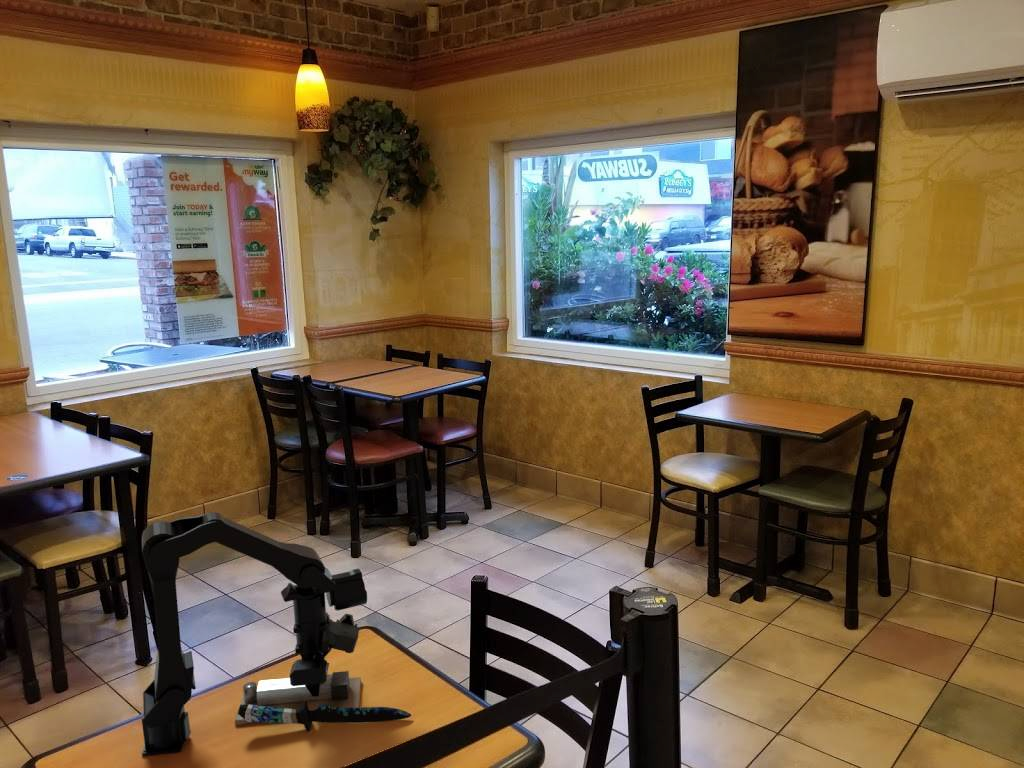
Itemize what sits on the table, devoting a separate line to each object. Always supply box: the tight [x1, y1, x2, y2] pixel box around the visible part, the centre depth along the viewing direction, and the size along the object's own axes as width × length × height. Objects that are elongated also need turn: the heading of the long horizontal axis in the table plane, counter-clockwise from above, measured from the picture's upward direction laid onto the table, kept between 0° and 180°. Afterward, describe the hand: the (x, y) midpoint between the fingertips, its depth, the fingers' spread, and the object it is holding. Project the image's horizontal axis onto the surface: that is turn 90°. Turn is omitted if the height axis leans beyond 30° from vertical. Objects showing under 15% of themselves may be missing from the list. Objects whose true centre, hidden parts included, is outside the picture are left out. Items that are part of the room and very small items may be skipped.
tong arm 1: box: [257, 678, 349, 706], centre depth 144 cm, size 16×2×3 cm, turn 98°
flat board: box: [234, 676, 362, 726], centre depth 146 cm, size 22×10×1 cm, turn 98°
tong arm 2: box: [257, 670, 350, 688], centre depth 147 cm, size 16×2×3 cm, turn 98°
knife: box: [237, 701, 412, 733], centre depth 139 cm, size 31×3×4 cm, turn 93°
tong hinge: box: [242, 681, 258, 705], centre depth 144 cm, size 2×2×3 cm
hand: (316, 690), depth 146 cm, fingers open, 3 cm apart
